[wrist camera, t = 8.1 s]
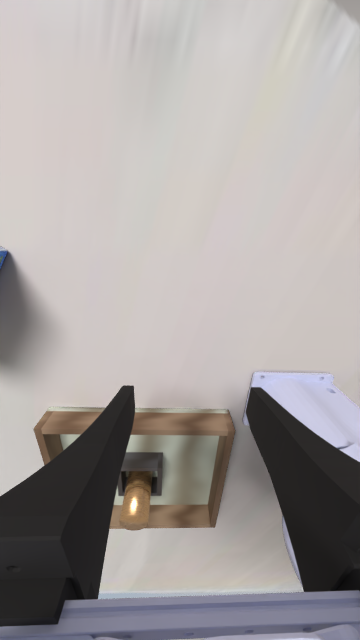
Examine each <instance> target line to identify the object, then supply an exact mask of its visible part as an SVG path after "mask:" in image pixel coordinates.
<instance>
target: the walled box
mask: <svg viewBox="0 0 360 640" xmlns="http://www.w3.org/2000/svg"><path fill="white" fill-rule="evenodd" d="M104 409H105V408H81V407H49V409H48V410H47V411H46V413H45V414H44V415H43V417H42V418H41V419H40V421H39V422H38V423H37V425H36V426H35V427H34V432H35V435H36V439H37V442H38V445H39V448H40V452H41V455H42V458H43V461H44V465H46V464H47V463H49V462H50V461H51V460H53V459H54V458H55V457H56V456H57V455H59V454H60V453H61V452H62V451H63V450H65V449H66V448H67V447H68V446H69V445H70V444H71V443H73V442H74V441H75V440H76V439H77V438H78V437H79V436H80V435H81V434H82V433H83V432H84V431H85V430H86V429H87V428H88V427H89V426H90V425H91V424H92V423H93V422H94V421H95V420H96V419H97V417H98V416H99V415H100V414H101V413H102V412H103V411H104ZM234 434H235V429H234V425H233V422H232V419H231V416H230V413H229V410H219V409H150V408H135V416H134V422H133V428H132V432H131V435H130V439H129V443H128V446H127V450H126V453H125V457H124V461H123V464H122V468H121V471H120V476H119V480H118V485H117V490H116V495H115V500H114V506H113V511H112V517H111V522H110V528H109V529H124V528H123V527H121V526H120V524H119V520H120V515H121V510H122V505H123V500H124V494H125V489H126V484H127V479H128V474H129V471H153V475H152V486H151V497H150V508H149V519H148V525H147V526H146V527H145V528H205V527H215V525H216V520H217V516H218V511H219V506H220V501H221V496H222V492H223V487H224V482H225V477H226V472H227V468H228V463H229V458H230V453H231V448H232V444H233V439H234Z"/></svg>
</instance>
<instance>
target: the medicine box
mask: <svg viewBox="0 0 360 640" xmlns="http://www.w3.org/2000/svg"><path fill="white" fill-rule="evenodd" d="M6 254H7V250H6V249H4V248H3V247H1V246H0V269H1V266H2V264H3V262H4V259H5V257H6Z"/></svg>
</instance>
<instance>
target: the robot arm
mask: <svg viewBox="0 0 360 640" xmlns="http://www.w3.org/2000/svg"><path fill="white" fill-rule="evenodd" d="M261 376H262V377H261ZM320 377H321V378H320ZM333 379H334V376H333V375H331V374H329V373H286V372H255V373H254V374H253V376H252V380H251V385H250V389H249V394H248V398H247V403H246V407H245V412H244V416H243V423H244V425H249V426H250V429H251V432H252V434H253V436H254V439H255V441H256V443H257V446H258V448H259V450H260V453H261V455H262V457H263V460H264V462H265V464H266V467H267V469H268V472H269V474H270V477H271V480H272V483H273V486H274V489H275V492H276V495H277V498H278V501H279V504H280V507H281V510H282V514H283V516H282V526H283V533H284V540H285V544H286V548H287V551H288V554H289V557H290V560H291V563H292V565H293V568H294V570H295V572H296V574H297V577H298V579H299V581H300V583H301V585H302V586H303V590H304V592H295V593H267V594H241V595H240V594H238V595H209V596H180V597H179V596H178V597H149V598H120V599H98V594H99V588H100V581H101V575H102V569H103V563H104V557H105V551H106V545H107V539H108V533H109V528H110V522H111V517H112V511H113V506H114V500H115V495H116V490H117V485H118V480H119V476H120V471H121V468H122V464H123V461H124V457H125V453H126V450H127V446H128V443H129V439H130V435H131V432H132V428H133V422H134V416H135V400H134V386H123V387H122V388H121V389H120V390H119V392H118V393H117V394H116V396H115V397H114V398H113V400H112V401H111V402H110V403H109V405H108V406H107V407H106V408H105V409H104V411H103V412H102V413H101V414H100V415H99V416H98V417H97V419H96V420H95V421H94V422H93V423H92V424H91V425H90V426H89V427H88V428H87V429H86V430H85V431H84V432H83V433H82V434H81V435H80V436H79V437H78V438H77V439H76V440H75V441H74V442H73V443H71V444H70V445H69V446H68V447H67V448H66V449H65V450H63V451H62V452H61V453H60V454H59V455H57V456H56V457H55V458H54V459H53V460H51V461H50V462H49V463H47V464H46V465H45V466H43V467H42V468H41V469H39V470H38V471H37V472H36V473H34V474H33V475H31V476H30V477H29V478H27V479H26V480H24V481H23V482H21V483H20V484H18V485H17V486H15V487H14V488H12V489H11V490H9V491H8V492H6V493H5V494H3V495H2V496H0V640H168V639H169V640H170V639H190V638H191V639H193V638H206V639H203V640H360V408H359V407H358V406H357V405H356V404H355V403H354V402H353V401H351V400H350V399H349V398H348V397H347V396H346V395H345V394H344V393H343V392H341V391H340V390H339V389H338V388H337V387H336V386H335V385H334V384H332V382H333Z"/></svg>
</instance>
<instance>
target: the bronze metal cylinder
mask: <svg viewBox="0 0 360 640" xmlns="http://www.w3.org/2000/svg"><path fill="white" fill-rule="evenodd" d="M152 475H153V471H129V474H128V479H127V484H126V489H125V494H124V500H123V505H122V510H121V515H120V520H119V524H120V526H121V527H123V528H125V529H127V530H140V529H143V528H145V527H146V526H147V525H148V519H149V508H150V497H151V486H152Z"/></svg>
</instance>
